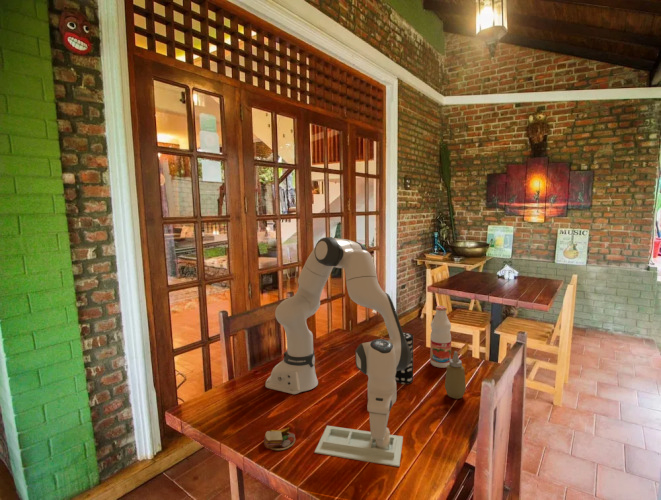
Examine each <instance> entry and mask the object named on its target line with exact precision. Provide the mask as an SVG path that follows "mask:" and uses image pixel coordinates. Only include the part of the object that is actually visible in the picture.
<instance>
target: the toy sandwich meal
mask: <svg viewBox="0 0 661 500" xmlns="http://www.w3.org/2000/svg"><path fill="white" fill-rule="evenodd" d="M289 430H290V427H286V428H283V429H277V430H276V429H270V430H267V431H266V432H265V434H264V438H263V445H264V447H265V448H266V449H270V450H273V451H285V450H287V449H290V448H291V447H292V446H293V445H295V442H296V435H295V434H294V433H291V432H290V431H289Z"/></svg>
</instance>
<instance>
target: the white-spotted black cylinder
mask: <svg viewBox="0 0 661 500" xmlns="http://www.w3.org/2000/svg"><path fill="white" fill-rule="evenodd" d="M403 334H404V337H405V339H406V341H407V343H408V345H409V348H410V351H411V355H412V359H411V362H410V364H409V365H408V366H407V368H406V369H405V370H396V375H395V380H396V384H397V383H398V384H401V385H409V384H412V383H413V381H414V334H412V333H409V332H403Z"/></svg>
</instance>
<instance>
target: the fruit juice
mask: <svg viewBox="0 0 661 500" xmlns="http://www.w3.org/2000/svg"><path fill="white" fill-rule="evenodd" d="M447 310H448V309H447V307H446V306H444V305H436V306H435V314H434V317H433V319H432V321H431V322H430V327H431V331H430V332H431V333H430V347H429V348H430V352H429V353H430V354H429V355H430V359H429V360H430V364H431V365H432V366H433V367H437V368H443V369H444V368H447V365H449V362H450V359H452V335H451V328H452V324H451V322H450V319H449V317H448V315H447Z"/></svg>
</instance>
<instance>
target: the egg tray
mask: <svg viewBox="0 0 661 500" xmlns="http://www.w3.org/2000/svg"><path fill="white" fill-rule="evenodd" d="M403 439H404V436H403V435H396V434H390V449H389V450H384V449H377V448H376V439H373V438H372V436H371V431H368V430H362V429H361V430H360V429H355V428H354V429H353V428H346V427H339V426H333V425H326V427H325V428H324V431H323V433H322V435H321V437H320V439H319V442H318V444H317V445H316V448H315V450H314V454H321V455H325V456H332V457H337V458H338V457H339V458H343V459H350V460H356V461H361V462H366V463H367V462H369V463H374V464H379V465H385V466H386V465H387V466H392V467H398V468H399V467H400V464H401V457H402V450H403V443H404V442H403V441H404V440H403Z"/></svg>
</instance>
